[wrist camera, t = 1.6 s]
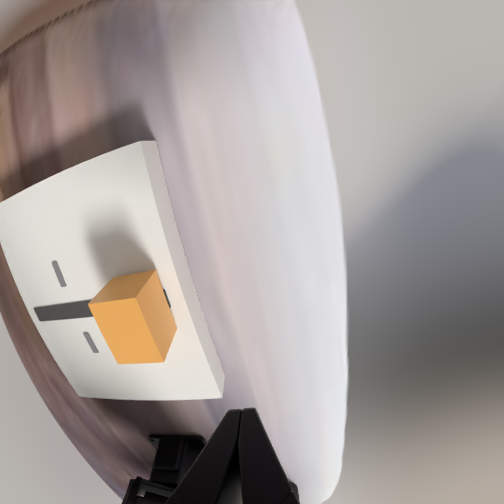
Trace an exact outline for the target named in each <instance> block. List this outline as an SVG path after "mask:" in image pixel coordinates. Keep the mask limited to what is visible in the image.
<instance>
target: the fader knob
mask: <svg viewBox="0 0 504 504" xmlns="http://www.w3.org/2000/svg"><path fill="white" fill-rule="evenodd" d="M88 306H89V308H90V310H91V312H92V314H93V317H94V319H95V321H96V323H97V325H98V327H99V329H100V331H101V333H102V335H103V337H104V339H105V341H106V343H107V345H108V347H109V348H110V350H111V352H112V354H113V356H114V358H115V360H116V361H117V363H118V364H141V363H161V362H164V361H165V359H166V356H167V353H168V351H169V348H170V346H171V343H172V340H173V338H174V335H175V333H176V330H177V326H176V324H175V321H174V319H173V316H172V313H171V311H170V308H169V305H168V303H167V300H166V297H165V294H164V292H163V289H162V286H161V283H160V280H159V277H158V274H157V271H156V270H151V271H146V272H140V273H135V274H129V275H124V276H118V277H113V278H112V279H111V280H110V281H109V282H108V283H107V284H106V285H105V286H104V287H103V288H102V289H101V290H100V291H99V293H98V294H97V295H96V296H95V297H94V298H93V299H92V300H91V301H90V302H89V303H88Z"/></svg>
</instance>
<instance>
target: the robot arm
mask: <svg viewBox="0 0 504 504" xmlns="http://www.w3.org/2000/svg"><path fill="white" fill-rule="evenodd" d="M148 440H149V441H150V443H151V444H152V445H153V446H154V447H155V449H156V454H155V458H154V461H153V465H152V467H153V468H152V472H151V475H150V479H149V480H146V479H142V477H139V476H137V478H136V479H130V482H129V486H128V489H127V492H126V494H125V497H124V499H123V502H122V504H300V503H299V501H298V499H297V497H296V495H295V493H294V491H293V489H292V487H291V485H290V483H289V481H288V479H287V477H286V474H285V472H284V470H283V468H282V466H281V464H280V462H279V460H278V457H277V455H276V453H275V451H274V449H273V447H272V444H271V442H270V440H269V438H268V435H267V433H266V431H265V429H264V426H263V424H262V422H261V420H260V417H259V415H258V413H257V410H256V408H244V409H243V410H242V409H232V410H229V411H228V412H227V413H226V415H225V416H224V418H223V419H222V421H221V422H220V424H219V426H218V427H217V429H216V430H215V432H214V433H213V435H212V436H211V438H210V439H209V441H208V442H207V443H206V442H205V440H204V439H203V438H202V437H199V436H158V435H149V437H148ZM140 494H141V495H144V497H141V496H140Z"/></svg>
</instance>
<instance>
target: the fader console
mask: <svg viewBox="0 0 504 504" xmlns="http://www.w3.org/2000/svg"><path fill="white" fill-rule="evenodd" d="M0 243H1V246H2V249H3V251H4V254H5V257H6V260H7V263H8V265H9V268H10V270H11V273H12V276H13V278H14V280H15V283H16V285H17V288H18V290H19V292H20V294H21V297H22V299H23V301H24V303H25V305H26V307H27V310H28V312H29V314H30V316H31V318H32V320H33V322H34V324H35V326H36V327H37V329H38V331H39V333H40V335H41V337H42V339H43V340H44V342H45V344H46V346H47V347H48V349H49V351H50V353H51V354H52V356H53V358H54V359H55V361H56V362H57V364H58V366H59V367H60V369H61V370H62V372H63V373H64V375H65V376H66V378H67V380H68V381H69V382H70V384H71V385H72V387H73V388H74V390H75V391H76V393H77V394H78V395H79V396H81V397H91V398H104V399H120V400H196V399H213V398H222V396H223V388H224V380H225V374H224V371H223V368H222V366H221V363H220V360H219V357H218V355H217V352H216V349H215V346H214V343H213V340H212V338H211V335H210V332H209V329H208V326H207V323H206V320H205V317H204V314H203V311H202V308H201V305H200V301H199V298H198V295H197V292H196V289H195V286H194V282H193V279H192V276H191V273H190V269H189V266H188V263H187V259H186V256H185V252H184V249H183V245H182V242H181V238H180V235H179V231H178V228H177V224H176V220H175V216H174V213H173V209H172V205H171V201H170V197H169V193H168V189H167V185H166V181H165V177H164V173H163V169H162V165H161V160H160V156H159V152H158V147H157V143H156V141H139V142H136V143H133V144H130V145H127V146H124V147H121V148H118V149H116V150H113V151H110V152H108V153H105V154H102V155H100V156H97V157H95V158H92V159H90V160H87V161H85V162H82V163H80V164H78V165H75V166H73V167H71V168H68V169H66V170H64V171H62V172H60V173H57V174H55V175H53V176H51V177H49V178H47V179H45V180H43V181H41V182H39V183H37V184H35V185H33V186H31V187H29V188H27V189H25V190H23V191H21V192H19V193H17V194H15V195H14V196H12V197H10V198H8V199H6V200H5V201H3V202H1V203H0ZM151 270H156V271H157V274H158V277H159V280H160V283H161V286H162V289H163V292H164V294H165V297H166V300H167V303H168V305H169V308H170V311H171V313H172V316H173V319H174V321H175V324H176V326H177V330H176V333H175V335H174V338H173V340H172V343H171V346H170V348H169V351H168V353H167V356H166V359H165V361H164V362H161V363H141V364H118V363H117V361H116V360H115V358H114V356H113V354H112V352H111V350H110V348H109V347H108V345H107V343H106V341H105V339H104V337H103V335H102V333H101V331H100V329H99V327H98V325H97V323H96V321H95V319H94V317H93V314H92V312H91V310H90V308H89V306H88V303H89V302H90V301H91V300H92V299H93V298H94V297H95V296H96V295H97V294H98V293H99V291H100V290H101V289H102V288H103V287H104V286H105V285H106V284H107V283H108V282H109V281H110V280H111V279H112V278H113V277H118V276H124V275H129V274H135V273H140V272H146V271H151Z"/></svg>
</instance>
